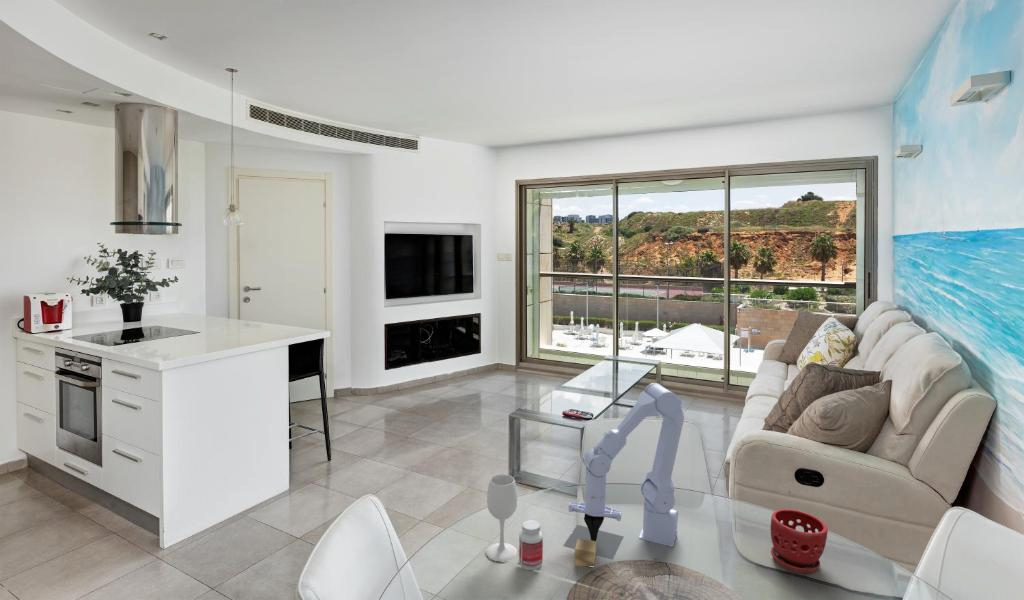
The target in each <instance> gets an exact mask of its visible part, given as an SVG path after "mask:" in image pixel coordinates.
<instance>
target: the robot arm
mask: <svg viewBox="0 0 1024 600" xmlns="http://www.w3.org/2000/svg"><path fill="white" fill-rule="evenodd" d="M659 416H660V417H661V418H662V422H661V427H660V432H659V435H658V436H659V437H658V442H657V446H656V450H655V456H654V459H653V464H652V468H651V471H649V472H647V473H646V476H645V479H644V480H643V482H642V483H641V486H640V492H641V493H640V494H641V495H642V496H643V497H644V499H643V516H642V517H643V519H642V520H643V521H642V529H641V531H640V532H639V535H638V538H639V540H644V541H648V542H652V543H656V544H660V545H664V546H667V545H668V547H671V548H673V547H674V546H675V542H676V540H677V539H676V538H677V536H678V521H679V518H678V517H679V512H678V510H677V509H674V507H675V503H676V500H675V496H674V493H675V486H674V483H673V480H672V474H673V470H674V466H675V461H676V457H677V452H678V448H679V443H680V440H681V439H680V438H681V434H682V431H683V425H684V420H685V415H684V412H683V408H682V400H681V399H680V397H679V396H678V395H677V394H676V393H674V392H672V391H670V390H669V389H667V388H666V387H664V386H663V385H661V384H660V383H656V382H652V383H650V384H648V385H647V386H646V387H645V389H644V390H643V391H642V392H640V393H639V396H638V399H637V400H636V402H635V403H634V405H633V407H632V408H631V409H630V410H629V411H628V413H627V414H626V416H625V417H624V418H623V420H622V421H621V422H620V423H619V425H618V427H616V428H611V429H609V430H608V431H605V432H604V433H603V437H602V438H601V439H600V441H598V443H597V444H596V446H593V447H592V449H589V450H588V451H587V452H586V453H585V454H584V457H582V463H583V465H584V466H585V467H586V468H585V476H584V477H585V484H584V502H572V501H571V502H569V504H568V512H569V513H573V512H576V513H580V514H584V517H583V520H584V523H585V525H586V527H588V529H589V533H590V537H591V540H592V541H596V539H597V534H598V530H600V528H601V526H602V525H603V523H604V520H605V518H608V519H615V520H616V521H617V522H621V520H622V513H623V512H622V510H617V509H614V508H612V507H610V506H607V505H606V498H607V494H606V493H607V474H608V473H609V471H611V466H612V465H611V464H612V462H613V460H614V459H615V458H616V457H617V456H618V454H619V453H620V452H621V450H623V449H624V447H625V446H626V445H627V437H629V435H630V434H631V433H632V432H633V431H634V430H635V429H636V428H637V427H638V426H639V425H640V424H641V423H642V422H643V421H644V420H645V419H646V418H647V417H659Z"/></svg>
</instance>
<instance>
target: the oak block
mask: <svg viewBox="0 0 1024 600" xmlns="http://www.w3.org/2000/svg"><path fill="white" fill-rule="evenodd" d="M596 559H597V555H596V541H590V540H584V539H578V540H577V544H576V547H575V549H574V566H577V567H583V566H588V567H587V568H589V566H594V567H595V565H596V564H595V563H596ZM594 564H595V565H594Z"/></svg>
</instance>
